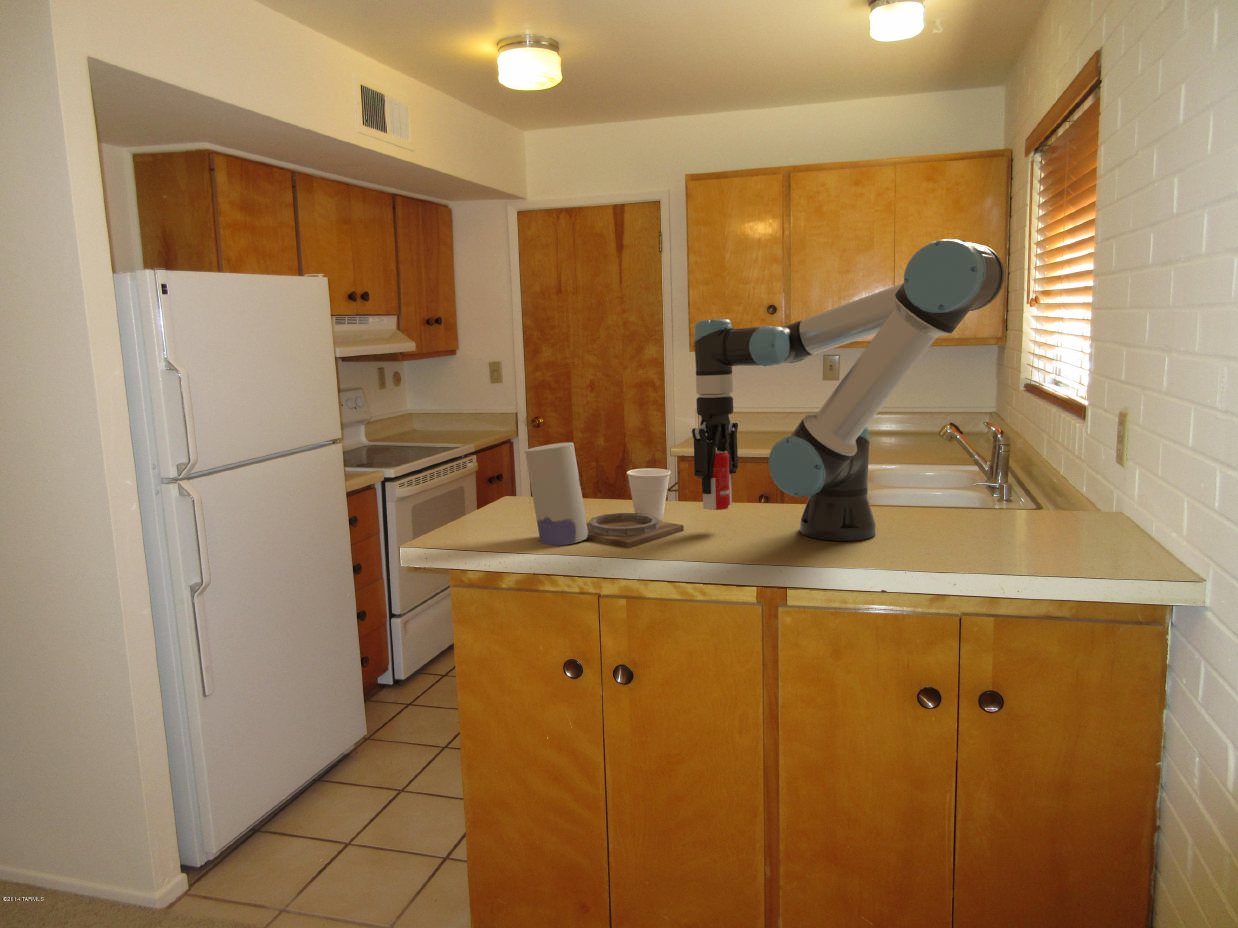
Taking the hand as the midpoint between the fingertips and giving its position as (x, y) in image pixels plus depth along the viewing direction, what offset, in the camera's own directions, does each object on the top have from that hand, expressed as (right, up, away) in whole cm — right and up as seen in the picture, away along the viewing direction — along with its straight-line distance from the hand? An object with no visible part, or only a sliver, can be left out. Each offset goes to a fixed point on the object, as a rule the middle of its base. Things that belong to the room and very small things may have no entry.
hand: (717, 506), depth 178 cm
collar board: (-20, -6, +2) cm, 21 cm away
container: (-32, -7, -2) cm, 33 cm away
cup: (-14, -4, +14) cm, 20 cm away
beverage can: (0, -1, 0) cm, 1 cm away
